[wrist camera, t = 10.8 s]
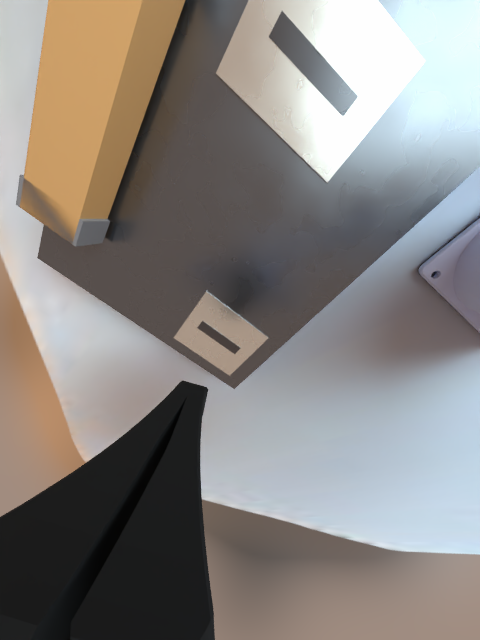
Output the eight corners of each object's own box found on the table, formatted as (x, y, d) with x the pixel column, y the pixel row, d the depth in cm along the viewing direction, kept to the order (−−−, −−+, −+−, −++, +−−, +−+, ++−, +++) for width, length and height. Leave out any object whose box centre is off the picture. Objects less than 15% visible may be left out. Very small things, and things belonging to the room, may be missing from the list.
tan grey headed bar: (148, -251, 6) (95, -451, 4) (242, -132, 7) (232, -262, 5) (51, 205, 12) (14, 203, 11) (103, 243, 13) (77, 247, 11)
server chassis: (491, 126, 10) (555, 99, 8) (238, 370, 20) (234, 389, 17) (204, -246, 7) (172, -463, 5) (68, 252, 17) (36, 258, 14)
